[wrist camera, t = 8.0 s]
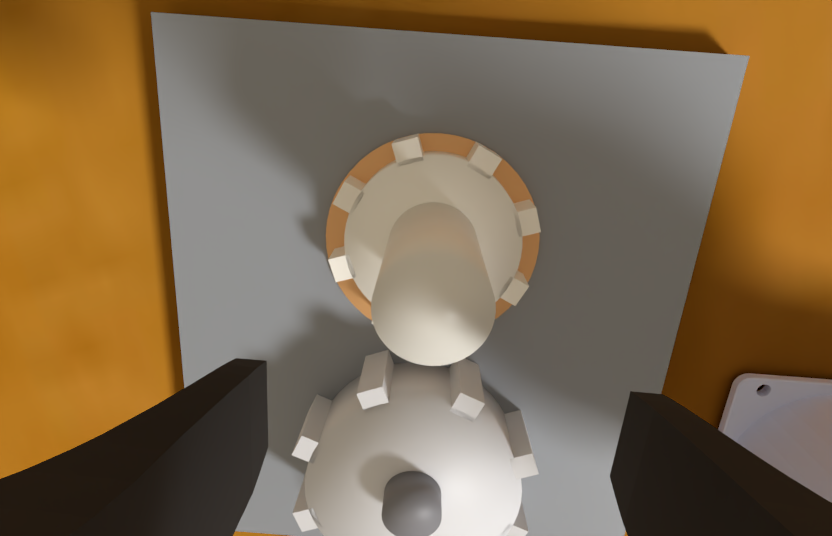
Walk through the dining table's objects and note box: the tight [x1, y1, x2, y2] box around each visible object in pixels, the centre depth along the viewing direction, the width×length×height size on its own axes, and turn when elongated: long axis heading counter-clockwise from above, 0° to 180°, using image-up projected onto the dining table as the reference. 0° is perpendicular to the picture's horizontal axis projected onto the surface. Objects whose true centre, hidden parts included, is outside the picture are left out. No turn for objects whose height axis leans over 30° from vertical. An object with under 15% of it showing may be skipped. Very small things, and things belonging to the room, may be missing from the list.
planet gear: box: [328, 133, 541, 366], centre depth 15 cm, size 6×6×6 cm
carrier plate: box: [151, 12, 749, 536], centre depth 18 cm, size 18×20×4 cm
